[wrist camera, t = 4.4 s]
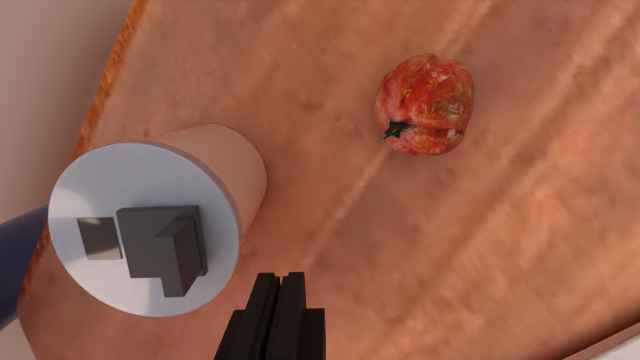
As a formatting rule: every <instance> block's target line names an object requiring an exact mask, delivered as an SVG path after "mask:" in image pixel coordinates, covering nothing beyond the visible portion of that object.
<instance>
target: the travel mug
mask: <svg viewBox="0 0 640 360" xmlns="http://www.w3.org/2000/svg"><path fill="white" fill-rule="evenodd" d="M266 189H267V174H266V169H265V166H264V163H263V160H262V158H261V156H260V154H259V153H258V151H257V150H256V148H255V147H254V146H253V145H252V144H251V143H250V142H249V141H248V140H247V139H246V138H245V137H244V136H242V135H241V134H239V133H238V132H236V131H234V130H232V129H230V128H227V127H224V126H221V125H215V124H199V125H194V126H190V127H187V128H184V129H181V130H178V131H175V132H171V133H168V134H165V135H162V136H159V137H156V138H152V139H149V140H129V141H121V142H116V143H112V144H109V145H105V146H101V147H99V148H96V149H94V150H91V151H89V152H87V153H85V154H84V155H82V156H80V157H79V158H77V159H76V160H75V161H74V162H73V163H71V164H70V165H69V166H68V167H67V169H66V170H65V171H64V172H63V173H62V174H61V176H60V178H59V179H58V181H57V183H56V184H55V187H54V189H53V192H52V194H51V198H50V202H49V208H48V225H49V232H50V236H51V241H52V243H53V246H54V249H55V251H56V253H57V255H58V257H59V259H60V261H61V263H62V264H63V266H64V267H65V269H66V270H67V272H68V273H69V274H70V275H71V276H72V278H73V279H74V280H75V281H76V282H77V283H78V284H79V285H80V286H81V287H82V288H83V289H85V290H86V291H87V292H88V293H90V294H91V295H92V296H94V297H95V298H97V299H98V300H100V301H102V302H103V303H105V304H107V305H109V306H111V307H114V308H116V309H119V310H121V311H124V312H127V313H131V314H135V315H140V316H147V317H168V316H175V315H180V314H184V313H187V312H190V311H193V310H195V309H197V308H199V307H201V306H203V305H205V304H206V303H208V302H209V301H211V300H212V299H213V298H214V297H216V296H217V295H218V294H219V293H220V292H221V291H222V289H223V288H224V287H225V286H226V285H227V283H228V281H229V280H230V278H231V276H232V274H233V272H234V270H235V268H236V266H237V263H238V261H239V258H240V254H241V251H242V243H243V239H244V237H245V235H246V233H247V231H248V229H249V227H250V225H251V224H252V222H253V220H254V218H255V216H256V214H257V212H258V210H259V208H260V206H261V204H262V202H263V200H264V198H265V194H266ZM193 205H198V206H199V212H200V219H201V226H202V232H203V239H204V245H205V252H206V259H207V265H208V272H207V274H206V275H205V276H200V277H197V279H196V280H195V282H194V283H193V285H192V286H191V288H190V289H189V291H188V292H187V294H186V295H185V297H169V298H165V297H164V292H163V287H162V282H161V278H130V274H129V269H128V265H127V261H126V256H125V252H124V247H123V243H122V239H121V234H120V230H119V225H118V221H117V217H116V211H117V210H119V209H121V208H132V207H163V206H193Z"/></svg>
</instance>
